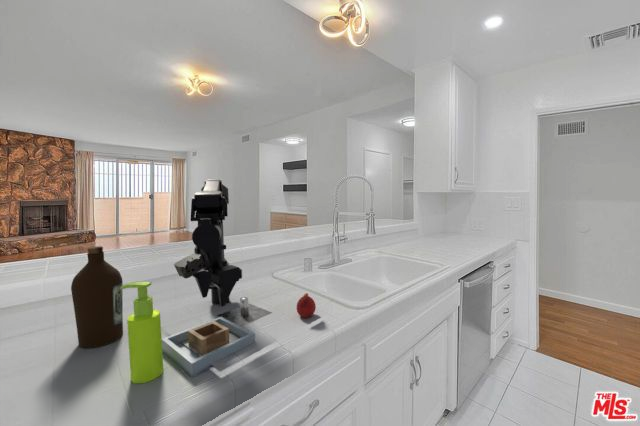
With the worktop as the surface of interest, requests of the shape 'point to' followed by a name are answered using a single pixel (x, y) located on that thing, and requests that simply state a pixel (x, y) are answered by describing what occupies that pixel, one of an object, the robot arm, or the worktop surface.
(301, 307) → the onion
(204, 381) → the worktop surface
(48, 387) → the worktop surface
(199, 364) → the light blue frame
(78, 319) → the olive oil
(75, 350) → the worktop surface
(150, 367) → the soap dispenser
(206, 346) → the open wooden box frame
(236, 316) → the stake base
